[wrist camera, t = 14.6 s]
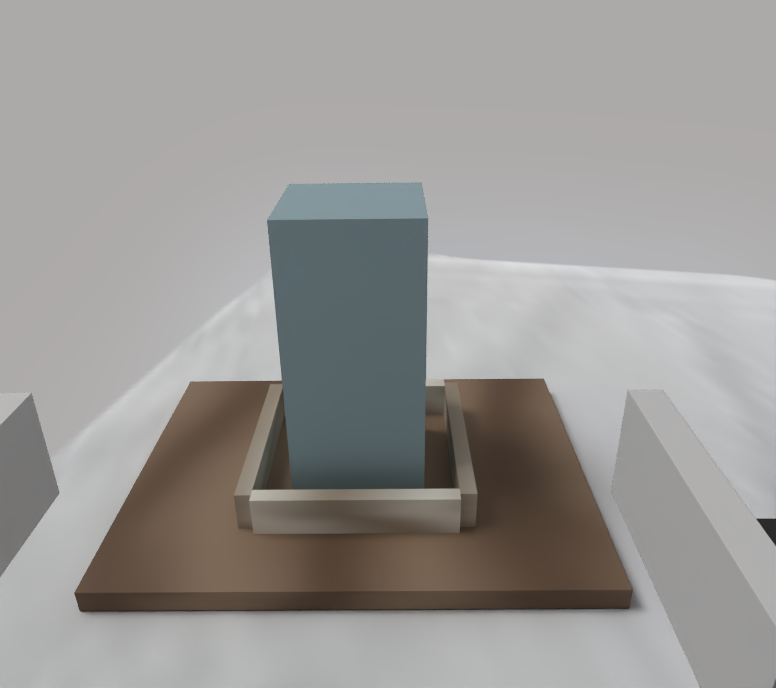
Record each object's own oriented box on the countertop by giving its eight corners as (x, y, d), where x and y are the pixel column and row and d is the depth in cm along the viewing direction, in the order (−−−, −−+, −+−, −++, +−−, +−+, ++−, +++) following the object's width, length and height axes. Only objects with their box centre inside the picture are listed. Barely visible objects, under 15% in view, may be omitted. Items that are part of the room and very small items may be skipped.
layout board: (542, 392, 34) (546, 352, 33) (629, 607, 22) (639, 554, 21) (192, 395, 35) (186, 355, 34) (79, 610, 22) (64, 557, 21)
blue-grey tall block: (419, 428, 30) (421, 182, 25) (424, 501, 26) (427, 218, 21) (307, 429, 30) (289, 184, 25) (293, 501, 26) (267, 219, 21)
